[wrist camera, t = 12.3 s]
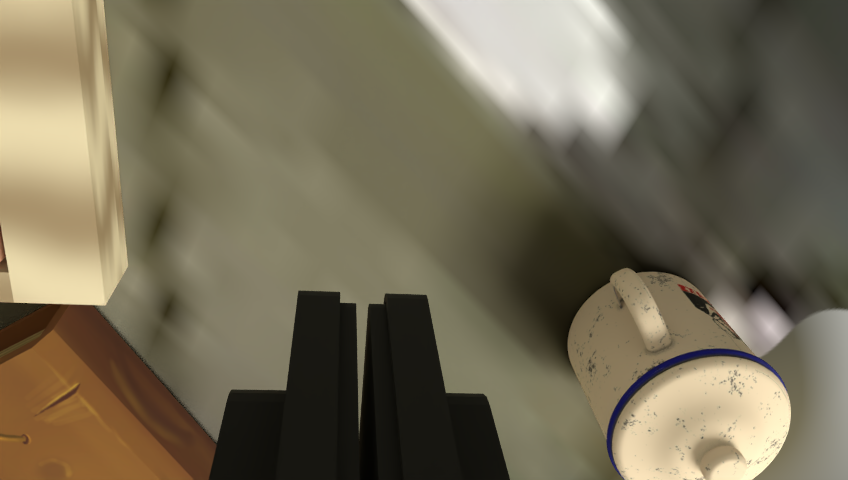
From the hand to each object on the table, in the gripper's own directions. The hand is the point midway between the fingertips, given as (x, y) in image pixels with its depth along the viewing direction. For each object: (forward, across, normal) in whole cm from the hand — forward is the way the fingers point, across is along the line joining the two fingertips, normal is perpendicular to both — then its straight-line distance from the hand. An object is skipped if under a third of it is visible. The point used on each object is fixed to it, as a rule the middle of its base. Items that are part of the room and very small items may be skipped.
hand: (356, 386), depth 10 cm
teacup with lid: (+27, -17, +15) cm, 35 cm away
